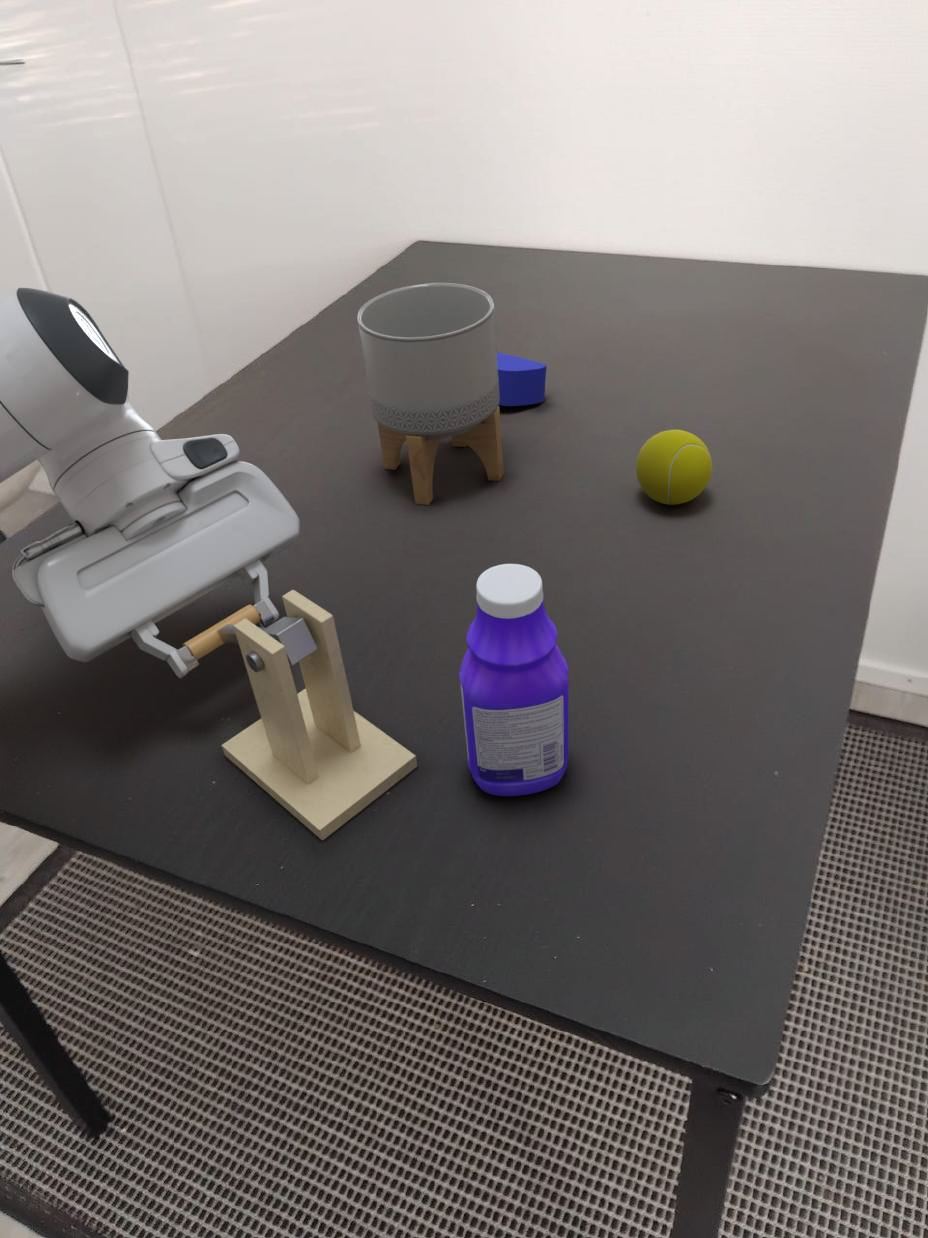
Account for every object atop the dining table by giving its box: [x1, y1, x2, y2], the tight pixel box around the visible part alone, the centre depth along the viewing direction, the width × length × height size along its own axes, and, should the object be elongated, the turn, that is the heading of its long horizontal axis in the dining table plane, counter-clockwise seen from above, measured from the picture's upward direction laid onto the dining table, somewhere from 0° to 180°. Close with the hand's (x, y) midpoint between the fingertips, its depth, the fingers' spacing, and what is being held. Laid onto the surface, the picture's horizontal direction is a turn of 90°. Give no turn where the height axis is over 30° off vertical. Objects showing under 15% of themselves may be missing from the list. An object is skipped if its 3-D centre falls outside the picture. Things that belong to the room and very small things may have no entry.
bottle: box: [458, 563, 570, 797], centre depth 65 cm, size 7×6×17 cm
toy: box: [497, 351, 548, 407], centre depth 114 cm, size 12×6×10 cm
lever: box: [182, 604, 318, 666], centre depth 70 cm, size 13×6×2 cm, turn 45°
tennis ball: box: [635, 429, 713, 506], centre depth 94 cm, size 7×7×7 cm
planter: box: [356, 282, 504, 506], centre depth 98 cm, size 13×13×18 cm
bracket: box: [221, 589, 418, 841], centre depth 69 cm, size 12×9×14 cm
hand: (231, 646), depth 75 cm, fingers closed on lever, 6 cm apart
